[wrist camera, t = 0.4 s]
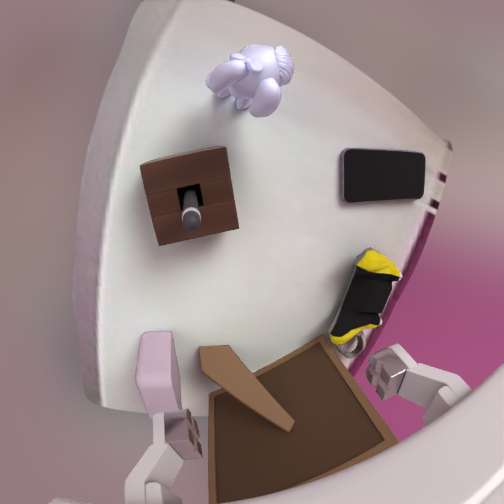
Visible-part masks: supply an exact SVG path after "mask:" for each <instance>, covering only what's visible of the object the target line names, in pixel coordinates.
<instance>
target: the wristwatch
mask: <svg viewBox="0 0 504 504" xmlns="http://www.w3.org/2000/svg"><path fill="white" fill-rule="evenodd" d="M356 335H357V340H358V343H357V344H358V345H357V346H356V349H355V350H353V351H352V352H345V351H344V350H343V347H342V346H341V345H340V344H339V345H336V347H337V349H338V350H339V352H340V353H342V354H343V355H344V356H345V357H346V358H353V357H356V356H357V355H359V354H360V353H361V351H363V350H364V348H365V346H366V339H365V335H364V333H363V332H362V331H360V332H359V333H357V334H356Z"/></svg>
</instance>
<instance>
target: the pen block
mask: <svg viewBox="0 0 504 504" xmlns="http://www.w3.org/2000/svg"><path fill="white" fill-rule="evenodd" d="M140 170H141V175H142V179H143V184H144V188H145V193H146V197H147V201H148V205H149V210H150V214H151V217H152V222H153V226H154V229H155V233H156V237H157V241H158V244H159V246H162V245H166V244H171V243H175V242H180V241H184V240H189V239H193V238H198V237H202V236H207V235H211V234H216V233H220V232H225V231H230V230H235V229H239V224H238V218H237V212H236V206H235V200H234V194H233V188H232V182H231V178H230V177H231V175H230V169H229V163H228V157H227V150H226V147H223V146H217V147H211V148H206V149H201V150H196V151H191V152H186V153H181V154H177V155H172V156H168V157H164V158H160V159H155V160H151V161H148V162H146V163H143V164H141V165H140ZM195 184H199V186H200V192H201V196H200V197H197V202H198V208H199V212H200V216H201V224H200V227H199V228H198V229H197V230H195V231H188V230H186V229H185V228H184V227H183V222H182V214H183V205H184V200H182V197H181V192H180V188H181V187H186V186H191V185H195Z"/></svg>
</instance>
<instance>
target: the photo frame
mask: <svg viewBox="0 0 504 504" xmlns="http://www.w3.org/2000/svg"><path fill="white" fill-rule="evenodd" d="M199 352H200V359H201V366H202V373H203V374H205V375H206V376H207V377H209V378H210V379H211V380H212V381H214V382H215V383H216V384H218V385H219V386H220V387H222V388H221V389H219V390H217V391H215V392H213V393H210V394H209V416H208V485H209V486H208V488H209V504H220V503H227V502H233V501H239V500H245V499H250V498H255V497H259V496H264V495H268V494H272V493H276V492H280V491H283V490H287V489H290V488H294V487H297V486H300V485H304V484H307V483H310V482H313V481H315V480H318V479H321V478H324V477H327V476H329V475H332V474H334V473H337V472H339V471H342V470H344V469H347V468H349V467H351V466H353V465H356V464H358V463H360V462H362V461H364V460H367V459H369V458H371V457H373V456H375V455H377V454H379V453H381V452H383V451H384V450H386V449H388V448H390V447H392V446H394V445H396V444H397V443H399V441H398V440H397V438H396V437H395V436H394V434H393V433H392V431H391V430H390V429H389V427H388V426H387V424H386V423H385V422H384V420H383V419H382V417H381V416H380V414H379V413H378V412H377V410H376V409H375V408H374V406H373V405H372V403H371V402H370V400H369V399H368V398H367V396H366V395H365V393H364V392H363V391H362V389H361V388H360V387H359V385H358V384H357V382H356V381H355V380H354V378H353V377H352V375H351V374H350V373H349V371H348V370H347V368H346V367H345V366H344V364H343V363H342V362H341V360H340V359H339V357H338V356H337V355H336V353H335V352H334V350H333V349H332V348H331V346H330V345H329V344H328V342H327V341H326V339H325V338H324V337H323V335H321V336H319V337H318V338H316V339H314V340H313V341H311V342H309V343H307V344H306V345H304V346H302V347H301V348H299V349H297V350H295V351H294V352H292V353H290V354H288V355H286V356H285V357H283V358H281V359H279V360H277V361H275V362H274V363H272V364H270V365H268V366H266V367H264V368H262V369H260V370H258V371H256V372H254V373H251V372H250V370H249V369H248V368H247V367H246V366H245V364H244V363H243V362H242V361H241V360H240V358H239V357H238V356H237V355H236V354H235V352H234V351H233V350H232V349H231V347H230V346H229V345H222V346H206V347H199Z"/></svg>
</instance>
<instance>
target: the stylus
mask: <svg viewBox="0 0 504 504" xmlns="http://www.w3.org/2000/svg"><path fill="white" fill-rule="evenodd" d="M182 222H183V227H184V228H185V229H186V230H188V231H195V230H197V229H198V228H199V227H200V224H201V216H200V212H199V208H198V202H197V196H196V190H195V187H194V185H191V186H186V187H185V190H184V205H183V214H182Z"/></svg>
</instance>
